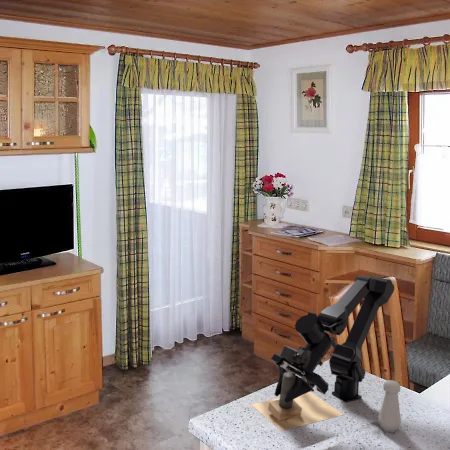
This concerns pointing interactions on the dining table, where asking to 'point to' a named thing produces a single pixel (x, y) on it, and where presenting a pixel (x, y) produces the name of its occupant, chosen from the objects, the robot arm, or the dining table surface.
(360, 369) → the robot arm
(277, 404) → the rubber stamp
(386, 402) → the salt shaker
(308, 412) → the pine board
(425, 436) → the dining table surface
